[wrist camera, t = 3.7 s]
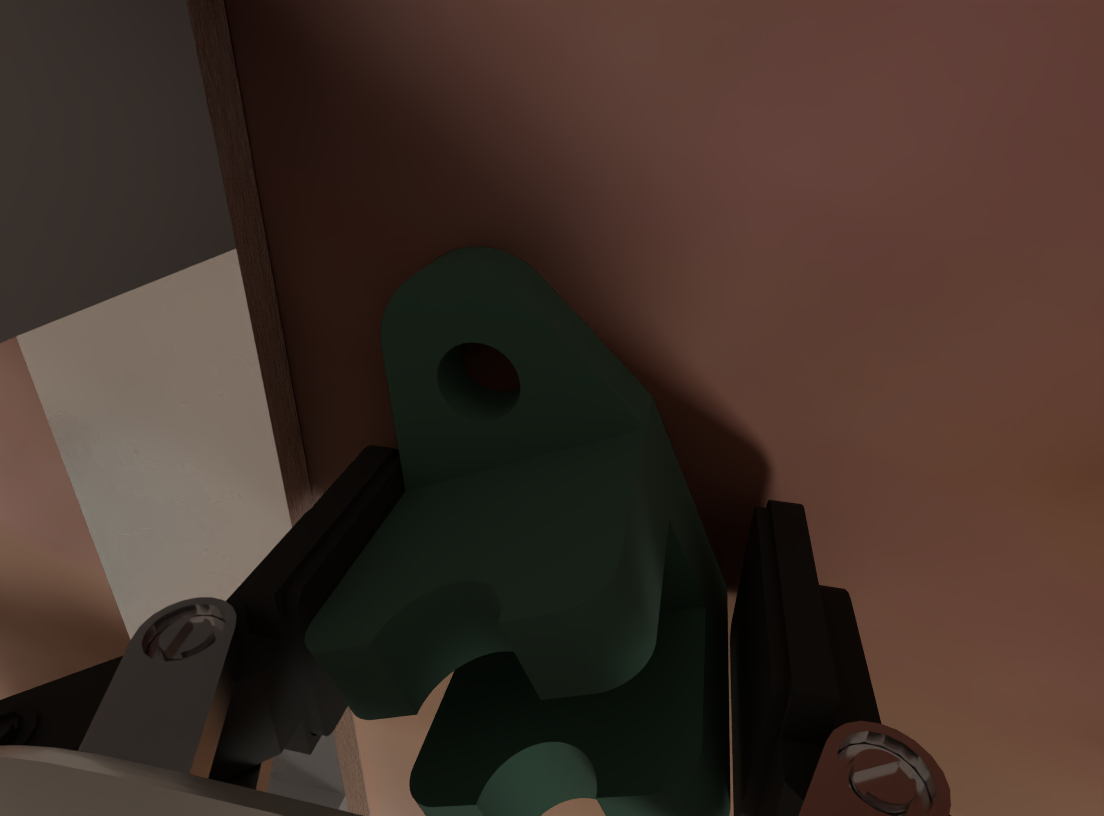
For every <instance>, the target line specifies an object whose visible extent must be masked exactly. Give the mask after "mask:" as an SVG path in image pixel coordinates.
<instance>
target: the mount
mask: <svg viewBox="0 0 1104 816" xmlns="http://www.w3.org/2000/svg"><path fill="white" fill-rule="evenodd" d="M463 343H482V344H485V345H488V346H491V347H493V348H495V349H497V350H498V351H500V352H501V353H502V354H504V355H505V356H506V357H507V358H508V359H509V360H510V362H511V363H512V364H513V366H514V367H515V369H516V371H517V374H518V377H519V381H520V388H519V389H516V390H513V391H507V392H500V391H494V390H490V389H488V388H486V387H484V386H482V385H480V384H479V383H477V382H476V381H475V380H474V379H473V378H472V377H471V376H470V375H469V373H468V372H467V370H466V369H465V367H464V365H463V362H462V359H461V351H460V349H461V344H463ZM381 346H382V353H383V359H384V365H385V371H386V377H387V383H388V389H389V395H390V401H391V407H392V413H393V419H394V425H395V431H396V437H397V443H398V449H399V455H400V461H401V468H402V474H403V480H404V486H405V492H404V494H403V495H402V497H401V498H400V499H399V501H398V502H397V504H396V505H395V506H394V508H393V509H392V510H391V512H390V513H389V515H388V516H387V517H386V519H385V520H384V522H383V523H382V524H381V526H380V527H379V529H378V530H377V531H376V533H375V534H374V535H373V537H372V538H371V540H370V541H369V542H368V544H367V545H366V547H365V548H364V549H363V551H362V552H361V553H360V555H359V556H358V558H357V559H356V560H355V562H354V563H353V565H352V566H351V567H350V569H349V570H348V571H347V573H346V574H345V576H344V577H343V578H342V580H341V581H340V583H339V584H338V585H337V587H336V588H335V590H334V591H333V592H332V594H331V595H330V596H329V598H328V599H327V601H326V602H325V603H324V605H323V606H322V608H321V609H320V610H319V612H318V613H317V614H316V616H315V617H314V619H313V620H312V622H311V623H310V625H309V626H308V628H307V631H306V633H305V639H304V641H305V645H306V647H307V648H308V650H309V651H310V652H311V654H312V655H313V657H314V658H315V659H316V661H317V662H318V664H319V665H320V667H321V668H322V669H323V671H324V672H325V674H326V675H327V676H328V678H329V679H330V681H331V682H332V684H333V685H334V686H335V688H336V689H337V691H338V692H339V693H340V695H341V696H342V698H343V699H344V700H345V702H346V703H347V705H348V706H349V708H350V709H351V710H352V712H353V713H354V714H355V715H356V716H357V717H359V718H361V719H365V720H374V719H383V718H392V717H400V716H409V715H417V713H418V711H419V709H420V707H421V706H422V704H423V702H424V701H425V700H426V698H427V697H428V695H429V694H430V693H431V692H432V690H433V689H434V688H435V687H436V686H437V685H438V684H439V683H440V682H441V681H442V680H443V679H444V678H445V677H447V676H448V675H449V674H450V673H452V672H453V671H454V670H455V671H454V673H453V676H452V678H451V680H450V683H449V685H448V687H447V690H446V692H445V694H444V697H443V699H442V701H441V704H440V706H439V708H438V711H437V713H436V715H435V717H434V720H433V722H432V724H431V727H430V729H429V731H428V734H427V736H426V738H425V741H424V743H423V745H422V748H421V750H420V752H419V755H418V757H417V759H416V762H415V764H414V766H413V769H412V772H411V776H410V791H411V794H412V797H413V798H414V799H415V801H416V802H417V804H418V805H419V807H420V808H421V809H422V811H423V812H424V814H425V815H426V816H541V815H542V814H543V813H544V812H546V811H547V810H548V809H550V808H552V807H553V806H555V805H557V804H559V803H561V802H564V801H567V800H571V799H576V798H592V799H596V800H597V801H598V802H599V804H600V806H601V808H602V810H603V811H604V813H605V815H606V816H729V814H730V741H729V675H728V609H727V586H726V583H725V581H724V578H723V576H722V573H721V570H720V568H719V565H718V563H717V560H716V558H715V555H714V553H713V550H712V547H711V545H710V542H709V540H708V537H707V535H706V532H705V530H704V527H703V524H702V522H701V519H700V517H699V514H698V512H697V509H696V506H695V504H694V501H693V499H692V496H691V494H690V491H689V489H688V486H687V483H686V481H685V478H684V476H683V473H682V471H681V468H680V465H679V463H678V460H677V458H676V455H675V453H674V450H673V448H672V445H671V442H670V440H669V437H668V435H667V432H666V430H665V427H664V424H663V422H662V419H661V417H660V414H659V412H658V409H657V407H656V404H655V401H654V399H653V396H652V395H651V394H650V393H649V392H648V391H647V390H646V389H645V387H644V386H643V385H642V384H641V383H640V382H639V381H638V380H637V379H636V378H635V377H634V376H633V374H632V373H631V372H630V371H629V370H628V369H627V368H626V367H625V366H624V365H623V364H622V363H621V362H620V360H619V359H618V358H617V357H616V356H615V355H614V354H613V353H612V352H611V351H610V350H609V349H608V348H607V346H606V345H605V344H604V343H603V342H602V341H601V340H600V339H599V338H598V337H597V336H596V335H595V334H594V332H593V331H592V330H591V329H590V328H589V327H588V326H587V325H586V324H585V323H584V322H583V321H582V320H581V318H580V317H579V316H578V315H577V314H576V313H575V312H574V311H573V310H572V309H571V308H570V307H569V306H568V304H567V303H566V302H565V301H564V300H563V299H562V298H561V297H560V296H559V295H558V294H557V293H556V292H555V290H554V289H553V288H552V287H551V286H550V285H549V284H548V283H547V282H546V281H545V280H544V279H543V278H542V276H541V275H540V274H539V273H538V272H537V271H535V270H534V269H533V268H532V267H531V266H530V265H528V264H527V263H526V262H524V261H522V260H521V259H519V258H517V257H515V256H514V255H512V254H509V253H507V252H504V251H501V250H498V249H494V248H488V247H466V248H460V249H456V250H453V251H450V252H448V253H446V254H444V255H442V256H440V257H438V258H437V259H436V260H434V261H433V262H431V263H430V264H429V265H427V266H426V267H424V268H423V269H422V270H420V271H419V272H418V273H416V274H415V275H413V276H412V277H411V278H409V279H408V280H406V281H405V282H404V283H403V284H402V285H401V286H400V287H399V288H398V289H397V290H396V291H395V293H394V294H393V295H392V297H391V299H390V300H389V302H388V304H387V306H386V309H385V312H384V315H383V319H382V323H381Z"/></svg>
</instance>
